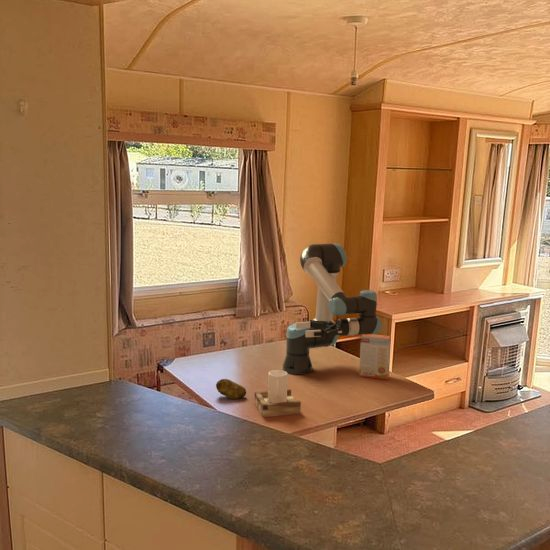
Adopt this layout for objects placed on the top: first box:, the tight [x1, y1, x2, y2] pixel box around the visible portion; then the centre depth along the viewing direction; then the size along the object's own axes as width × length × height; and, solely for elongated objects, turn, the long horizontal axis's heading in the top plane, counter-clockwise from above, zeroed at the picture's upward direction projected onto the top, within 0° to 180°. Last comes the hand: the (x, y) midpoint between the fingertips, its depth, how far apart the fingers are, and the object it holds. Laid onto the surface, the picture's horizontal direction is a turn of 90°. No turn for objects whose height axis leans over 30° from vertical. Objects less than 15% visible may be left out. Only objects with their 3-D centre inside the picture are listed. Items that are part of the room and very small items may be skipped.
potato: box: [215, 378, 247, 400], centre depth 249 cm, size 8×13×8 cm, turn 67°
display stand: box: [254, 388, 302, 418], centre depth 239 cm, size 15×16×5 cm
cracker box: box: [358, 334, 392, 381], centre depth 277 cm, size 14×6×21 cm, turn 71°
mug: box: [267, 369, 288, 403], centre depth 237 cm, size 12×8×12 cm
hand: (300, 329), depth 242 cm, fingers open, 13 cm apart
